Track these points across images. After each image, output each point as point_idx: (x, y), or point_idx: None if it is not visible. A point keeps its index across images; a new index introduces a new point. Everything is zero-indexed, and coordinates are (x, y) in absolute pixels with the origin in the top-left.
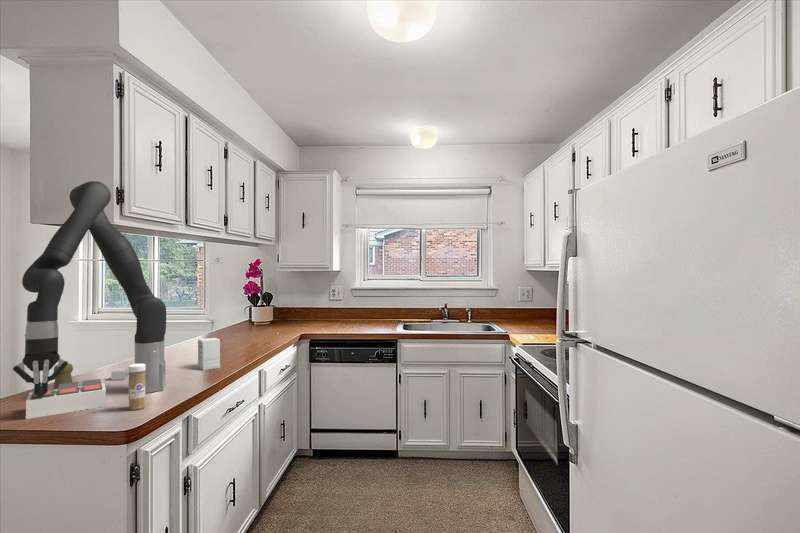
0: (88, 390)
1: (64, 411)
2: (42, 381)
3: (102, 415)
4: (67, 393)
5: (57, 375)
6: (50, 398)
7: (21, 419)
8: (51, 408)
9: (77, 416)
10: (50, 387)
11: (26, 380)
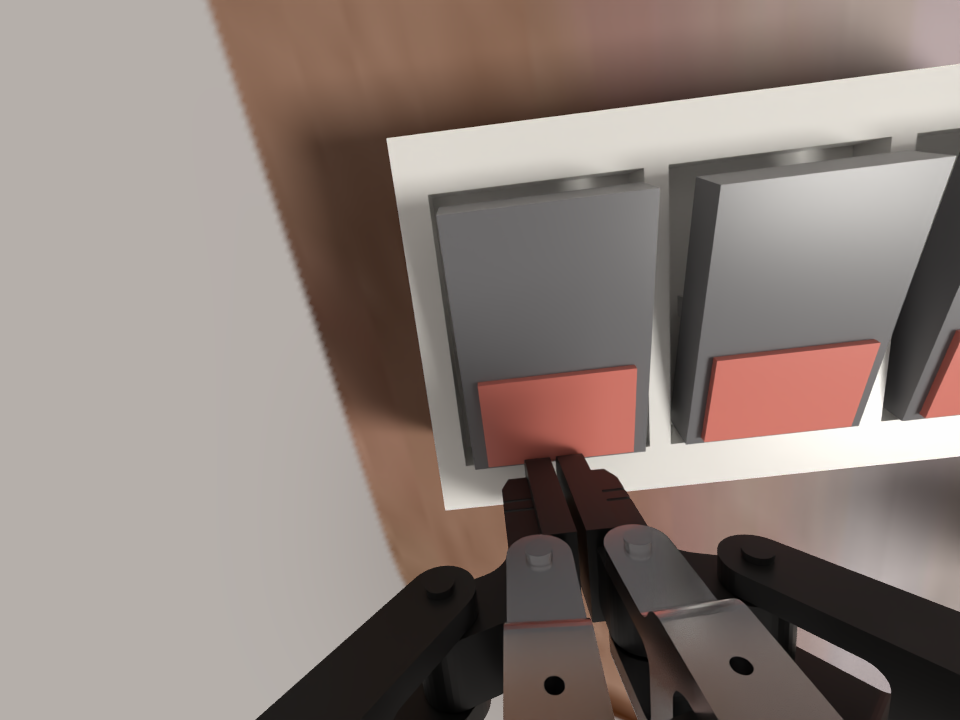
0: (954, 414)
1: None
2: (614, 651)
3: None
4: (766, 431)
5: (840, 693)
6: (624, 486)
7: (427, 423)
8: None
9: (741, 529)
10: (623, 262)
11: (429, 705)
